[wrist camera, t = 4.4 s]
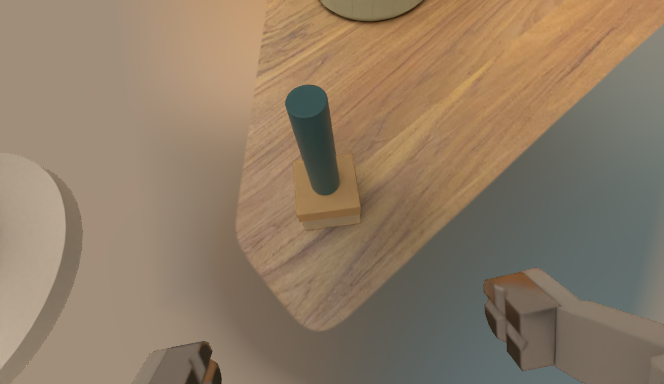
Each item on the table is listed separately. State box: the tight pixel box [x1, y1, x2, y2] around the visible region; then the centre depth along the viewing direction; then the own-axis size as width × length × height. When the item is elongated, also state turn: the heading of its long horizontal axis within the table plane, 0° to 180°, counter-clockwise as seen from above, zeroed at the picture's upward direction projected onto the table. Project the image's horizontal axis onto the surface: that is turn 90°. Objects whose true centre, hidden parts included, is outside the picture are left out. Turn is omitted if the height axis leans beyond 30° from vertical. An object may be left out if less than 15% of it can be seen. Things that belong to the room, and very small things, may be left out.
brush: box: [285, 85, 361, 230], centre depth 24 cm, size 5×5×14 cm
